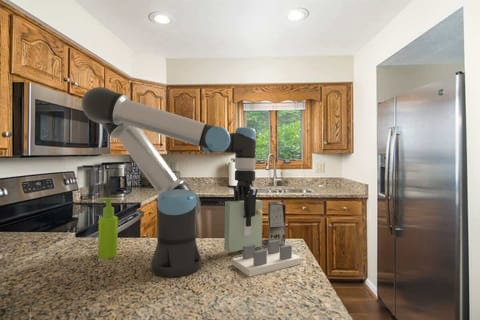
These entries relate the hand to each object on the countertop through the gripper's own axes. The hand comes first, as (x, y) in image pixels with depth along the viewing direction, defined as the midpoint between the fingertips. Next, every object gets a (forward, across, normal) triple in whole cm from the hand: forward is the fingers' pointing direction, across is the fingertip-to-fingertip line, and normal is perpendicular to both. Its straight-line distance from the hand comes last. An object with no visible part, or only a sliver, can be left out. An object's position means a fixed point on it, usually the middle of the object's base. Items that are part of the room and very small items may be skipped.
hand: (243, 233), depth 97 cm
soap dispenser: (+7, +19, +44) cm, 48 cm away
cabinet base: (+6, -14, 0) cm, 16 cm away
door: (+5, 0, 0) cm, 5 cm away
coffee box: (+7, +4, -18) cm, 20 cm away
